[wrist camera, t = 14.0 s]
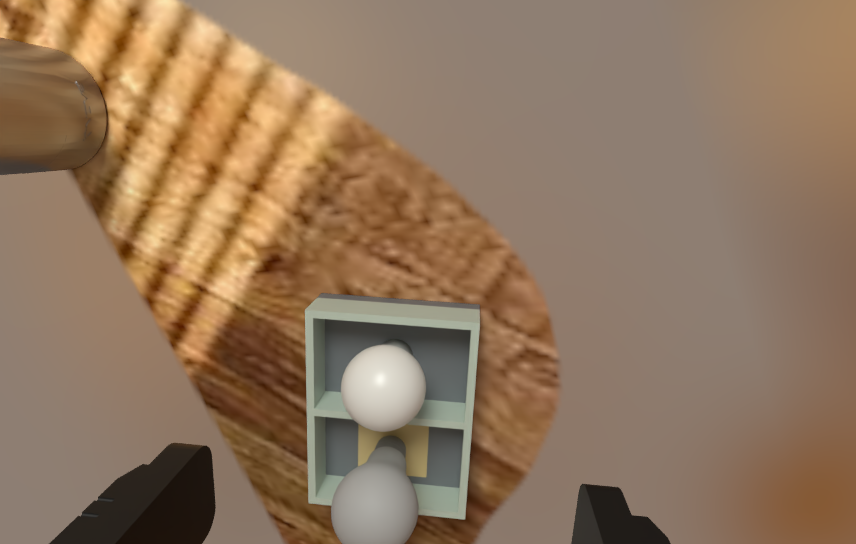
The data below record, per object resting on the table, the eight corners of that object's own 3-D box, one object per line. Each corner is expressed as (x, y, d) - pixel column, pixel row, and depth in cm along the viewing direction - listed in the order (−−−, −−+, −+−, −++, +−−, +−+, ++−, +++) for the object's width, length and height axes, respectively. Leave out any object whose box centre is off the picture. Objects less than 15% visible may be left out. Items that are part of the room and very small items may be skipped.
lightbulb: (370, 479, 45) (337, 586, 34) (348, 419, 44) (307, 510, 33) (436, 466, 44) (424, 572, 33) (416, 404, 43) (397, 493, 32)
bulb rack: (323, 471, 47) (284, 556, 37) (321, 293, 42) (276, 338, 33) (466, 485, 46) (463, 576, 36) (479, 304, 41) (480, 354, 32)
